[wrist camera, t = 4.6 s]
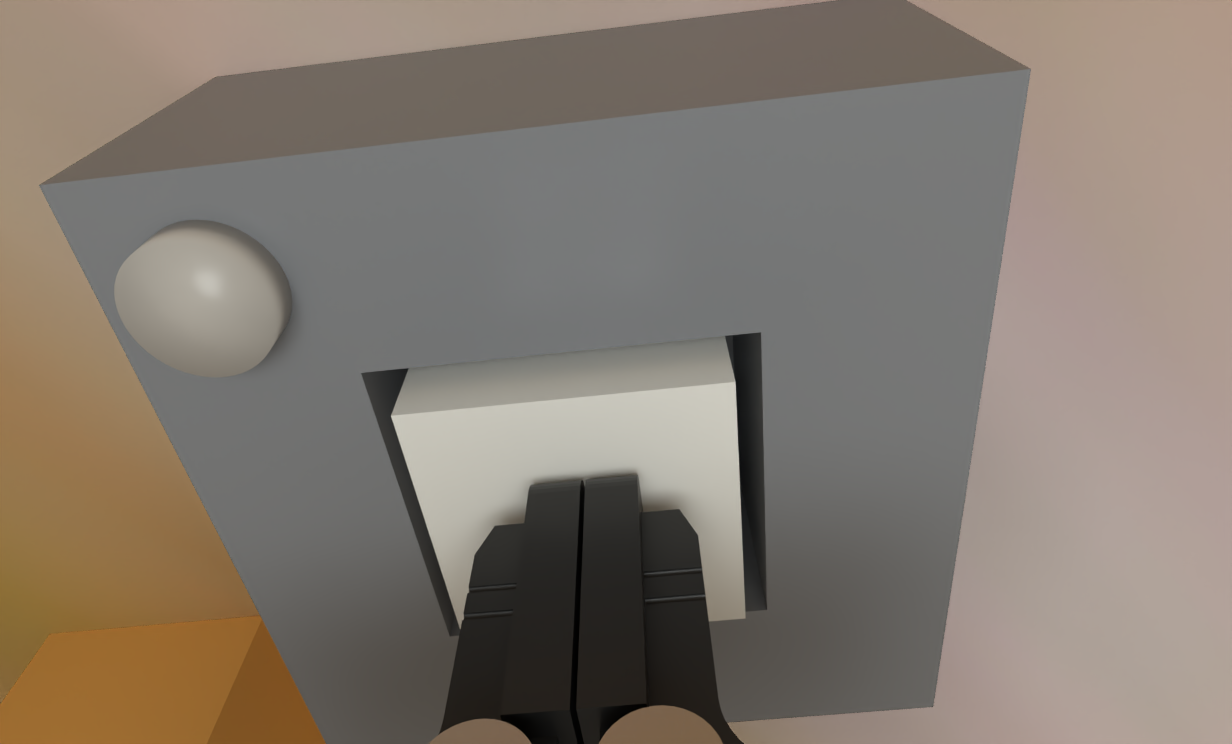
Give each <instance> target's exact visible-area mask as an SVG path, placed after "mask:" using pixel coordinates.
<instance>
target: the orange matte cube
mask: <svg viewBox="0 0 1232 744" xmlns="http://www.w3.org/2000/svg"><path fill="white" fill-rule="evenodd" d="M0 744H326V743H325V741H324V739H323V737H322V735H321V733H320V731H319V729H318V727H317V725H316V723H315V721H314V719H313V717H312V715H311V713H310V711H309V710H308V708H307V706H306V704H305V702H304V700H303V698H302V696H301V694H300V692H299V690H298V688H297V686H296V684H295V682H294V680H293V678H292V676H291V674H290V673H289V671H288V669H287V667H286V665H285V663H284V661H283V659H282V657H281V655H280V653H279V651H278V649H277V647H276V645H275V643H274V641H273V639H272V638H271V636H270V634H269V632H268V630H267V628H266V626H265V624H264V622H263V620H262V618H261V616H250V617H238V618H227V619H215V620H204V621H192V622H181V623H169V624H158V625H146V626H135V627H123V628H112V629H100V630H88V631H77V632H65V633H54V634H49V636H48V637H47V639H46V640H45V641H44V643H43V644H42V646H41V647H40V649H39V650H38V651H37V653H36V654H35V656H34V657H33V658H32V660H31V661H30V663H29V664H28V666H27V667H26V668H25V670H24V671H23V673H22V674H21V676H20V677H19V678H18V680H17V681H16V683H15V684H14V686H13V687H12V688H11V690H10V691H9V693H8V694H7V696H6V697H5V698H4V700H3V701H2V703H1V704H0Z"/></svg>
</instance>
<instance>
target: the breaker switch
mask: <svg viewBox="0 0 1232 744" xmlns="http://www.w3.org/2000/svg"><path fill="white" fill-rule="evenodd" d="M391 418H392V421H393V424H394V427H395V430H396V433H397V436H398V439H399V442H400V445H401V448H402V452H403V455H404V458H405V461H406V464H407V467H408V470H409V473H410V476H411V479H412V482H413V485H414V489H415V492H416V495H417V498H418V501H419V504H420V507H421V510H422V513H423V516H424V519H425V522H426V526H427V529H428V532H429V535H430V538H431V541H432V544H433V547H434V550H435V553H436V556H437V560H438V563H439V566H440V569H441V572H442V575H443V578H444V581H445V584H446V587H447V590H448V593H449V597H450V600H451V603H452V606H453V609H454V612H455V615H456V618H457V621H458V624H459V627H460V629H461V624H462V620H464V614H463V613H464V608H465V603H466V597H467V593H469V582H470V576H471V571H472V566H473V560H474V555H475V553H476V552H477V551H478V549H479V548H480V546H481V545H482V543H483V542H484V541H485V539H486V538H487V536H488V535H489V533H490V532H491V531H492V529H493V528H494V526H497V525H508V524H519V523H524V521H525V513H526V505H527V498H528V491H529V487H530V485H534V484H545V483H556V482H567V481H578V480H583V482H584V485H585V483H586V480H587V479H597V478H608V477H619V476H630V475H638V477H639V483H640V491H641V499H642V506H643V512H652V511H663V510H674V509H680V511H681V512H682V514H683V515H684V516H685V518H686V519H687V520H688V522H689V523H690V525H691V526H692V527H693V529H694V530H695V532H696V533H697V534H698V539H699V547H700V555H701V563H702V572H703V579H704V587H705V595H706V603H707V611H708V619H709V621H721V620H733V619H745V618H746V617H745V593H744V570H743V546H742V523H741V499H740V476H739V453H738V429H737V406H736V382H735V378H734V373H733V369H732V365H731V360H730V356H729V352H728V348H727V343H726V339H725V336H719V337H709V338H699V339H690V340H680V341H670V342H660V343H650V344H640V345H631V346H621V347H611V348H601V349H591V350H581V351H572V352H562V353H552V354H542V355H532V356H522V357H513V358H503V359H493V360H483V361H473V362H464V363H454V364H444V365H434V366H424V367H414V368H409V369H408V372H407V374H406V377H405V380H404V382H403V385H402V388H401V390H400V393H399V396H398V398H397V401H396V404H395V406H394V409H393V412H392V414H391Z"/></svg>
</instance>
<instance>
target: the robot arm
mask: <svg viewBox="0 0 1232 744" xmlns="http://www.w3.org/2000/svg"><path fill="white" fill-rule="evenodd" d="M463 614H464V620H462V624H461V629H460V634H459V639H458V645H457V650H456V655H455V660H454V666H453V671H452V676H451V681H450V687H449V692H448V697H447V702H446V708H445V713H444V718H443V722H442V726H441V730H440V732H439V734H438V736H437V737H435V738H434V739H433V740H432V741H431V742H430V743H429V744H744V743H743V742H742V741H740V740H739V739H738V738H737V736H736V735H735V734H734V733H733V731H732V730H731V729H730V727H729V726H728V724H727V722H726V721H725V719H724V716H723V714H722V711H721V708H720V703H719V699H718V691H717V683H716V675H715V667H714V659H713V651H712V643H711V635H710V627H709V619H708V611H707V603H706V595H705V587H704V579H703V572H702V563H701V555H700V547H699V539H698V534H697V533H696V532H695V530H694V529H693V527H692V526H691V525H690V523H689V522H688V520H687V519H686V518H685V516H684V515H683V514H682V512H681V511H680V509H674V510H663V511H652V512H643V506H642V499H641V491H640V483H639V477H638V475H630V476H619V477H608V478H597V479H587V480H586V483H585V485H584V482H583V480H578V481H567V482H556V483H545V484H534V485H530V487H529V491H528V498H527V505H526V513H525V521H524V523H519V524H508V525H497V526H494V528H493V529H492V531H491V532H490V533H489V535H488V536H487V538H486V539H485V541H484V542H483V543H482V545H481V546H480V548H479V549H478V551H477V552H476V553H475V555H474V560H473V566H472V571H471V576H470V582H469V593H467V597H466V603H465V608H464V613H463Z"/></svg>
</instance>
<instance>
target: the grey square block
mask: <svg viewBox="0 0 1232 744" xmlns="http://www.w3.org/2000/svg"><path fill="white" fill-rule="evenodd" d="M1030 71H1031V69H1030V68H1028V67H1026V66H1025V65H1023V64H1021V63H1019V62H1017V61H1015V60H1014V59H1012V58H1010V57H1008V56H1006V55H1005V54H1003V53H1001V52H999V51H997V50H995V49H994V48H992V47H990V46H988V45H986V44H985V43H983V42H981V41H979V40H977V39H976V38H974V37H972V36H970V35H968V34H966V33H965V32H963V31H961V30H959V29H957V28H956V27H954V26H952V25H950V24H948V23H946V22H945V21H943V20H941V19H939V18H937V17H936V16H934V15H932V14H930V13H928V12H926V11H925V10H923V9H921V8H919V7H917V6H916V5H914V4H912V3H910V2H908V1H907V0H838V1H830V2H822V3H814V4H805V5H797V6H789V7H781V8H773V9H765V10H757V11H749V12H740V13H732V14H724V15H716V16H708V17H700V18H692V19H684V20H676V21H667V22H659V23H651V24H643V25H635V26H627V27H619V28H611V29H602V30H594V31H586V32H578V33H570V34H562V35H554V36H546V37H538V38H529V39H521V40H513V41H505V42H497V43H489V44H481V45H473V46H465V47H456V48H448V49H440V50H432V51H424V52H416V53H408V54H400V55H391V56H383V57H375V58H367V59H359V60H351V61H343V62H335V63H327V64H318V65H310V66H302V67H294V68H286V69H278V70H270V71H262V72H253V73H245V74H237V75H229V76H221V77H215V78H213V79H211V80H210V81H208V82H207V83H205V84H203V85H202V86H200V87H198V88H197V89H195V90H194V91H192V92H190V93H189V94H187V95H185V96H184V97H182V98H180V99H179V100H177V101H176V102H174V103H172V104H171V105H169V106H167V107H166V108H164V109H163V110H161V111H159V112H158V113H156V114H154V115H153V116H151V117H149V118H148V119H146V120H145V121H143V122H141V123H140V124H138V125H136V126H135V127H133V128H131V129H130V130H128V131H127V132H125V133H123V134H122V135H120V136H118V137H117V138H115V139H114V140H112V141H110V142H109V143H107V144H105V145H104V146H102V147H100V148H99V149H97V150H96V151H94V152H92V153H91V154H89V155H87V156H86V157H84V158H83V159H81V160H79V161H78V162H76V163H74V164H73V165H71V166H69V167H68V168H66V169H65V170H63V171H61V172H60V173H58V174H56V175H55V176H53V177H52V178H50V179H48V180H47V181H45V182H43V183H42V184H40V185H39V186H40V188H41V190H42V192H43V194H44V196H45V198H46V200H47V202H48V204H49V206H50V208H51V209H52V211H53V213H54V215H55V217H56V219H57V221H58V223H59V225H60V227H61V229H62V231H63V233H64V235H65V237H66V239H67V241H68V243H69V245H70V246H71V248H72V250H73V252H74V254H75V256H76V258H77V260H78V262H79V264H80V266H81V268H82V270H83V272H84V274H85V276H86V278H87V280H88V281H89V283H90V285H91V287H92V289H93V291H94V293H95V295H96V297H97V299H98V301H99V303H100V305H101V307H102V309H103V311H104V313H105V315H106V316H107V318H108V320H109V322H110V324H111V326H112V328H113V330H114V332H115V334H116V336H117V338H118V340H119V342H120V344H121V346H122V348H123V350H124V352H125V353H126V355H127V357H128V359H129V361H130V363H131V365H132V367H133V369H134V371H135V373H136V375H137V377H138V379H139V381H140V383H141V385H142V387H143V388H144V390H145V392H146V394H147V396H148V398H149V400H150V402H151V404H152V406H153V408H154V410H155V412H156V414H157V416H158V418H159V420H160V422H161V424H162V425H163V427H164V429H165V431H166V433H167V435H168V437H169V439H170V441H171V443H172V445H173V447H174V449H175V451H176V453H177V455H178V457H179V459H180V460H181V462H182V464H183V466H184V468H185V470H186V472H187V474H188V476H189V478H190V480H191V482H192V484H193V486H194V488H195V490H196V492H197V494H198V495H199V497H200V499H201V501H202V503H203V505H204V507H205V509H206V511H207V513H208V515H209V517H210V519H211V521H212V523H213V525H214V527H215V529H216V531H217V532H218V534H219V536H220V538H221V540H222V542H223V544H224V546H225V548H226V550H227V552H228V554H229V556H230V558H231V560H232V562H233V564H234V566H235V567H236V569H237V571H238V573H239V575H240V577H241V579H242V581H243V583H244V585H245V587H246V589H247V591H248V593H249V595H250V597H251V599H252V601H253V603H254V604H255V606H256V608H257V610H258V612H259V614H260V616H261V618H262V620H263V622H264V624H265V626H266V628H267V630H268V632H269V634H270V636H271V638H272V639H273V641H274V643H275V645H276V647H277V649H278V651H279V653H280V655H281V657H282V659H283V661H284V663H285V665H286V667H287V669H288V671H289V673H290V674H291V676H292V678H293V680H294V682H295V684H296V686H297V688H298V690H299V692H300V694H301V696H302V698H303V700H304V702H305V704H306V706H307V708H308V710H309V711H310V713H311V715H312V717H313V719H314V721H315V723H316V725H317V727H318V729H319V731H320V733H321V735H322V737H323V739H324V741H325V743H326V744H429V743H430V742H431V741H432V740H433V739H434V738H435V737H437V736H438V734H439V732H440V730H441V726H442V722H443V718H444V713H445V708H446V702H447V697H448V692H449V687H450V681H451V676H452V671H453V666H454V660H455V655H456V650H457V645H458V639H459V634H460V627H459V624H458V621H457V618H456V615H455V612H454V609H453V606H452V603H451V600H450V597H449V593H448V590H447V587H446V584H445V581H444V578H443V575H442V572H441V569H440V566H439V563H438V560H437V556H436V553H435V550H434V547H433V544H432V541H431V538H430V535H429V532H428V529H427V526H426V522H425V519H424V516H423V513H422V510H421V507H420V504H419V501H418V498H417V495H416V492H415V489H414V485H413V482H412V479H411V476H410V473H409V470H408V467H407V464H406V461H405V458H404V455H403V452H402V448H401V445H400V442H399V439H398V436H397V433H396V430H395V427H394V424H393V421H392V418H391V414H392V412H393V409H394V406H395V404H396V401H397V398H398V396H399V393H400V390H401V388H402V385H403V382H404V380H405V377H406V374H407V372H408V369H409V368H414V367H424V366H434V365H444V364H454V363H464V362H473V361H483V360H493V359H503V358H513V357H522V356H532V355H542V354H552V353H562V352H572V351H581V350H591V349H601V348H611V347H621V346H631V345H640V344H650V343H660V342H670V341H680V340H690V339H699V338H709V337H719V336H725V339H726V343H727V348H728V352H729V356H730V360H731V365H732V369H733V373H734V378H735V382H736V406H737V429H738V453H739V476H740V499H741V523H742V546H743V570H744V593H745V617H746V618H745V619H733V620H721V621H709V627H710V635H711V643H712V651H713V659H714V667H715V675H716V683H717V691H718V699H719V703H720V708H721V711H722V714H723V716H724V719H725V721H726V722H740V721H753V720H766V719H779V718H792V717H806V716H819V715H832V714H845V713H858V712H871V711H885V710H898V709H911V708H924V707H933V704H934V698H935V691H936V685H937V678H938V672H939V665H940V659H941V652H942V645H943V639H944V632H945V626H946V619H947V613H948V606H949V600H950V593H951V587H952V580H953V574H954V567H955V561H956V554H957V548H958V541H959V535H960V528H961V521H962V515H963V508H964V502H965V495H966V489H967V482H968V476H969V469H970V463H971V456H972V450H973V443H974V437H975V430H976V424H977V417H978V411H979V404H980V398H981V391H982V384H983V378H984V371H985V365H986V358H987V352H988V345H989V339H990V332H991V326H992V319H993V313H994V306H995V300H996V293H997V287H998V280H999V274H1000V267H1001V261H1002V254H1003V247H1004V241H1005V234H1006V228H1007V221H1008V215H1009V208H1010V202H1011V195H1012V189H1013V182H1014V176H1015V169H1016V163H1017V156H1018V150H1019V143H1020V137H1021V130H1022V123H1023V117H1024V110H1025V104H1026V97H1027V91H1028V84H1029V78H1030Z"/></svg>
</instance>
